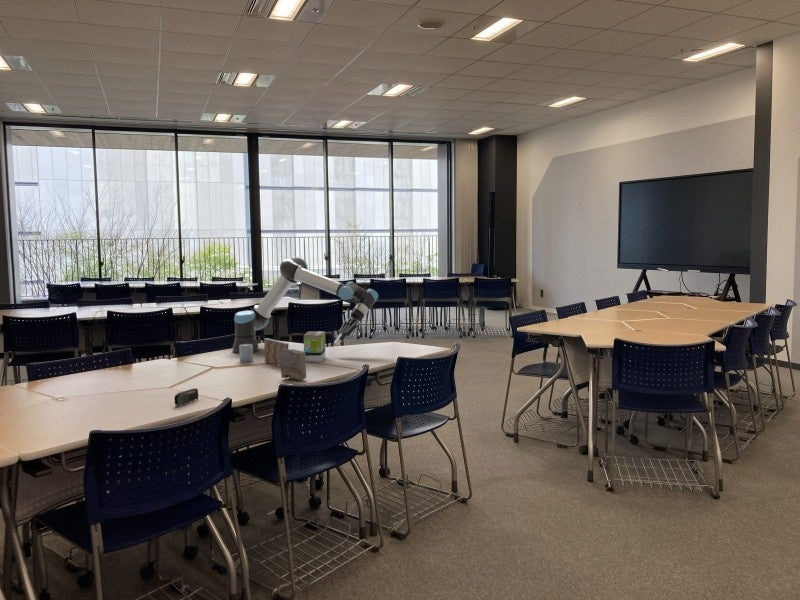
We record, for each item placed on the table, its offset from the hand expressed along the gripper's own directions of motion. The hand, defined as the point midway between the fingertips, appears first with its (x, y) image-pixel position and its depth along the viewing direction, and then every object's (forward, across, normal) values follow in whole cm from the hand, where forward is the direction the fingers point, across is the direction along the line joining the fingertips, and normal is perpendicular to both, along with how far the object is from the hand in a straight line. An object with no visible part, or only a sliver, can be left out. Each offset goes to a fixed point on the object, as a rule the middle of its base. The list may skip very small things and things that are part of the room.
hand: (335, 344), depth 352 cm
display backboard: (+31, +1, +21) cm, 38 cm away
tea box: (+15, +1, +4) cm, 15 cm away
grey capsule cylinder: (+36, +21, +27) cm, 50 cm away
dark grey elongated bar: (+78, -45, +68) cm, 113 cm away
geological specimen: (+40, -37, +29) cm, 62 cm away
